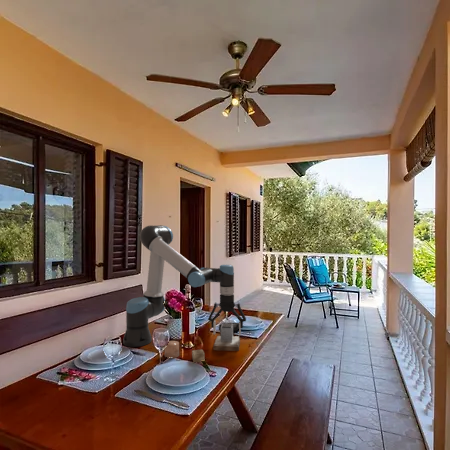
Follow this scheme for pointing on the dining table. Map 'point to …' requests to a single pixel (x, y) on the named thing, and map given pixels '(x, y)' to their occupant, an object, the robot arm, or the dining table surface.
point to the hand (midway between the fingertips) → (227, 334)
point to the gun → (235, 327)
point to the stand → (227, 344)
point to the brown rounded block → (172, 349)
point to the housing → (227, 332)
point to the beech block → (198, 355)
